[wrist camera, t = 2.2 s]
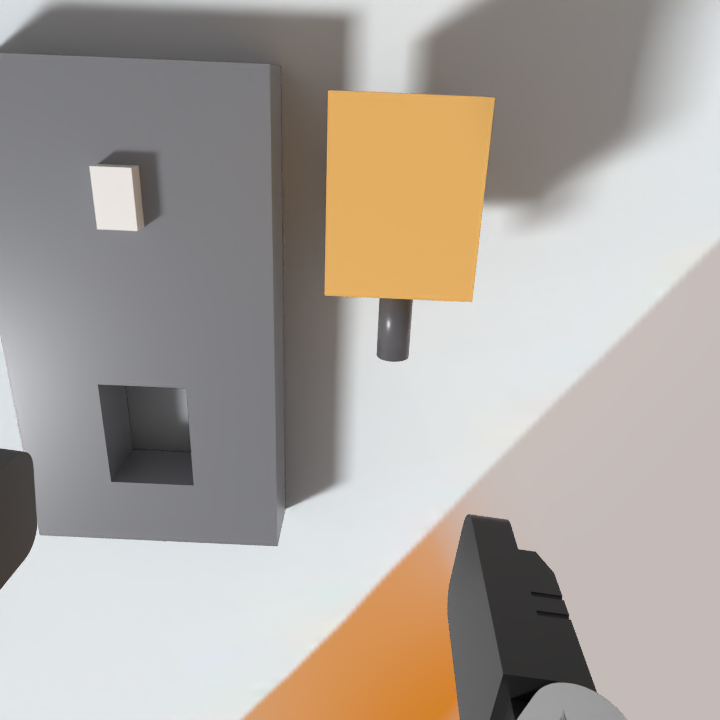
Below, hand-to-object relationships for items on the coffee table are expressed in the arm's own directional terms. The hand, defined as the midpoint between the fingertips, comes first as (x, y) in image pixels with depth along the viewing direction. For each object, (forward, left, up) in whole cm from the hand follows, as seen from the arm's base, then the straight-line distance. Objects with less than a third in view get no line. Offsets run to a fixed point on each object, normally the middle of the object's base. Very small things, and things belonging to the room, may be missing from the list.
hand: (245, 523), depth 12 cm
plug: (-3, +3, -19) cm, 20 cm away
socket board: (+3, -8, -19) cm, 21 cm away
